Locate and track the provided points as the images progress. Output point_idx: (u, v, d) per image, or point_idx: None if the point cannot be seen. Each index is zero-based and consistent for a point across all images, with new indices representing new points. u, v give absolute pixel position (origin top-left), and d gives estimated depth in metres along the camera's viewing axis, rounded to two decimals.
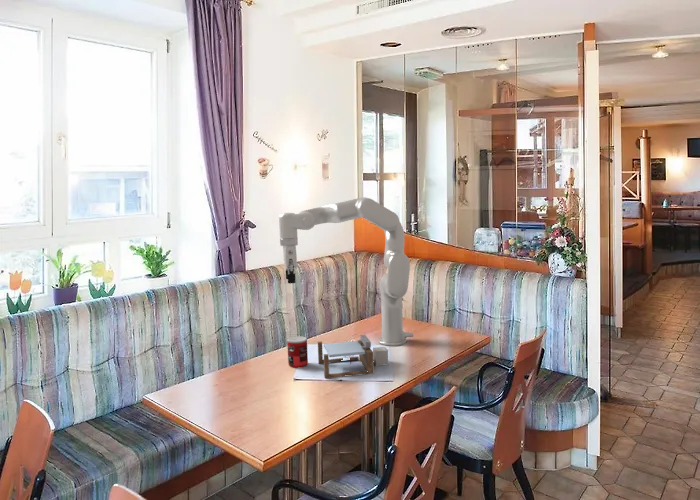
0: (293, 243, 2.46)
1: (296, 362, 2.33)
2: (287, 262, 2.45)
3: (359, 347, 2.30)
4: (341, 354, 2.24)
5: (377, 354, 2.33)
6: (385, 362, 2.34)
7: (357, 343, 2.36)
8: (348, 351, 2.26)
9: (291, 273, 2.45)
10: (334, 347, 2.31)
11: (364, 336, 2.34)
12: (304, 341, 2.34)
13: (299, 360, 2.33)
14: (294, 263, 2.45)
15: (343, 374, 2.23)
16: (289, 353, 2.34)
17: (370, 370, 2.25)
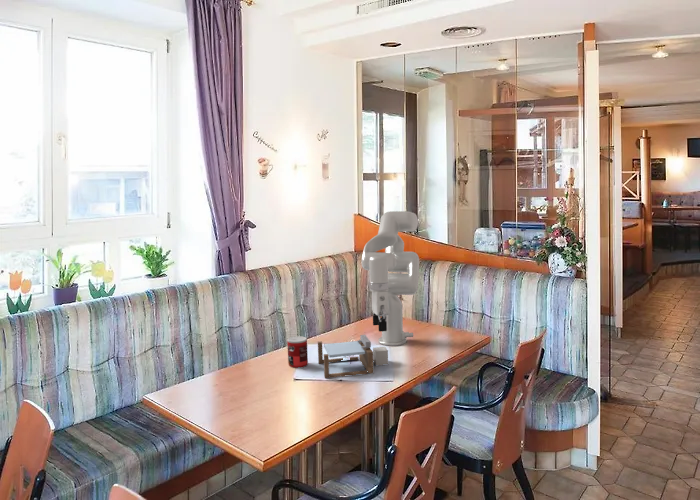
0: (385, 288, 2.29)
1: (296, 362, 2.33)
2: (378, 309, 2.28)
3: (359, 347, 2.30)
4: (341, 354, 2.24)
5: (377, 354, 2.33)
6: (385, 362, 2.34)
7: (357, 343, 2.36)
8: (348, 351, 2.26)
9: (383, 321, 2.27)
10: (334, 347, 2.31)
11: (364, 336, 2.34)
12: (304, 341, 2.34)
13: (299, 360, 2.33)
14: (386, 310, 2.28)
15: (343, 374, 2.23)
16: (289, 353, 2.34)
17: (370, 370, 2.25)
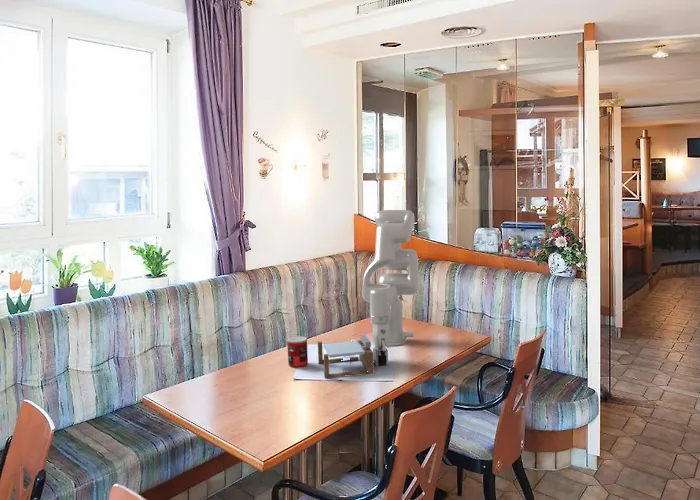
0: (385, 321, 2.31)
1: (296, 362, 2.33)
2: (379, 342, 2.30)
3: (359, 347, 2.30)
4: (341, 354, 2.24)
5: (377, 354, 2.33)
6: None
7: (357, 343, 2.36)
8: (348, 351, 2.26)
9: (382, 355, 2.32)
10: (334, 347, 2.31)
11: (364, 336, 2.34)
12: (304, 341, 2.34)
13: (299, 360, 2.33)
14: (386, 345, 2.31)
15: (343, 374, 2.23)
16: (289, 353, 2.34)
17: (370, 370, 2.25)
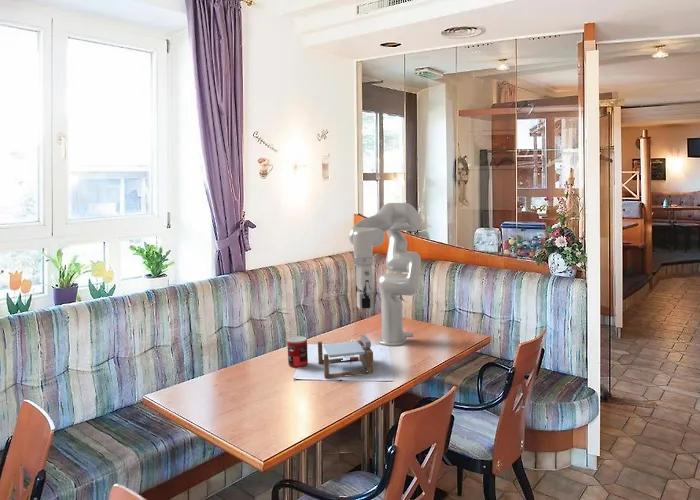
0: (369, 263, 2.26)
1: (296, 362, 2.33)
2: (363, 284, 2.25)
3: (359, 347, 2.30)
4: (341, 354, 2.24)
5: (361, 297, 2.28)
6: None
7: (357, 343, 2.36)
8: (348, 351, 2.26)
9: (366, 297, 2.26)
10: (334, 347, 2.31)
11: (364, 336, 2.34)
12: (304, 341, 2.34)
13: (299, 360, 2.33)
14: (370, 287, 2.26)
15: (343, 374, 2.23)
16: (289, 353, 2.34)
17: (370, 370, 2.25)
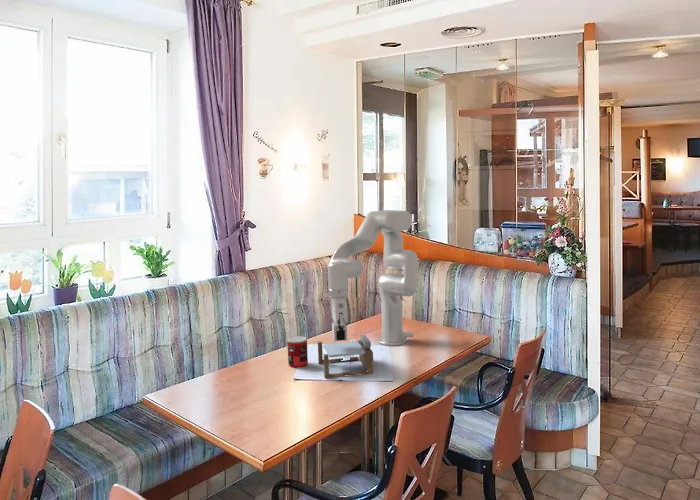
0: (343, 295, 2.24)
1: (296, 362, 2.33)
2: (337, 316, 2.23)
3: (359, 347, 2.30)
4: (341, 354, 2.24)
5: (335, 329, 2.26)
6: None
7: (357, 343, 2.36)
8: (348, 351, 2.26)
9: (341, 330, 2.25)
10: (334, 347, 2.31)
11: (364, 336, 2.34)
12: (304, 341, 2.34)
13: (299, 360, 2.33)
14: (344, 320, 2.24)
15: (343, 374, 2.23)
16: (289, 353, 2.34)
17: (370, 370, 2.25)
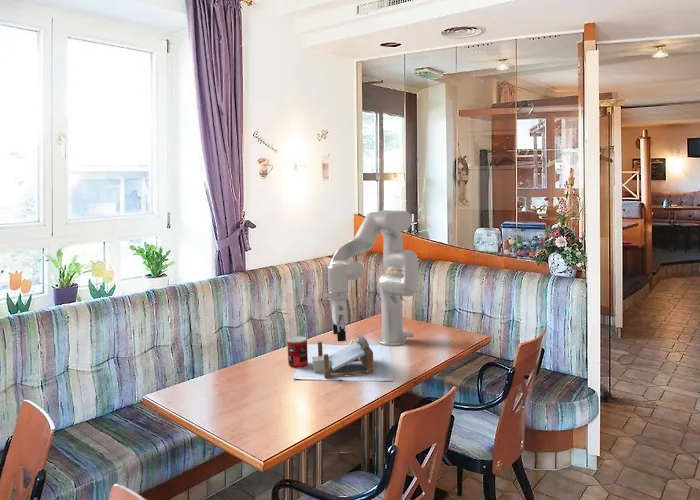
0: (343, 297, 2.24)
1: (296, 362, 2.33)
2: (337, 318, 2.23)
3: (359, 348, 2.30)
4: (343, 363, 2.24)
5: (317, 371, 2.28)
6: None
7: (357, 344, 2.36)
8: (349, 357, 2.26)
9: (341, 330, 2.23)
10: (336, 357, 2.32)
11: (361, 336, 2.34)
12: (304, 341, 2.34)
13: (299, 360, 2.33)
14: (345, 319, 2.24)
15: (343, 374, 2.23)
16: (289, 353, 2.34)
17: (370, 370, 2.25)
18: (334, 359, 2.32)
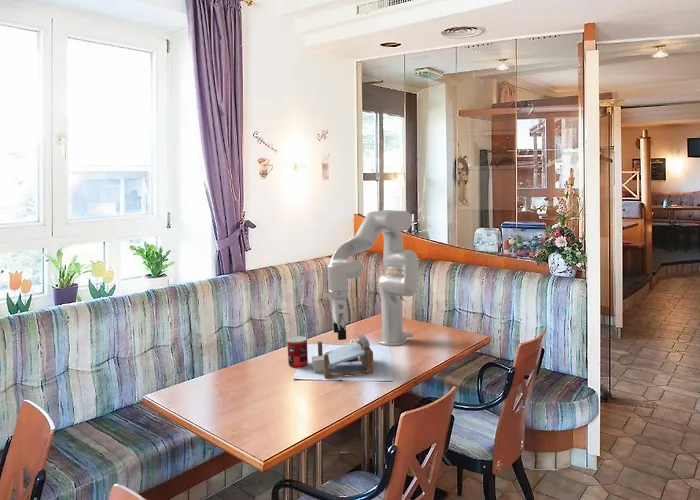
0: (343, 296, 2.24)
1: (296, 362, 2.33)
2: (337, 317, 2.24)
3: (359, 348, 2.30)
4: (342, 360, 2.24)
5: (317, 371, 2.28)
6: None
7: (357, 344, 2.36)
8: (348, 355, 2.26)
9: (342, 329, 2.23)
10: (335, 354, 2.32)
11: (362, 336, 2.34)
12: (304, 341, 2.34)
13: (299, 360, 2.33)
14: (345, 318, 2.24)
15: (343, 374, 2.23)
16: (289, 353, 2.34)
17: (370, 370, 2.25)
18: (333, 355, 2.31)
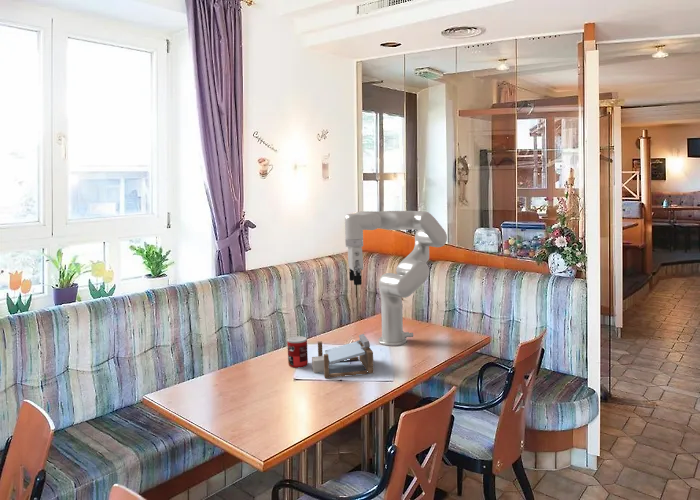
0: (359, 244, 2.43)
1: (296, 362, 2.33)
2: (353, 263, 2.42)
3: (359, 348, 2.30)
4: (342, 359, 2.24)
5: (317, 371, 2.28)
6: None
7: (357, 344, 2.36)
8: (348, 354, 2.26)
9: (358, 274, 2.42)
10: (334, 352, 2.32)
11: (363, 336, 2.34)
12: (304, 341, 2.34)
13: (299, 360, 2.33)
14: (360, 264, 2.43)
15: (343, 374, 2.23)
16: (289, 353, 2.34)
17: (370, 370, 2.25)
18: (332, 353, 2.31)
